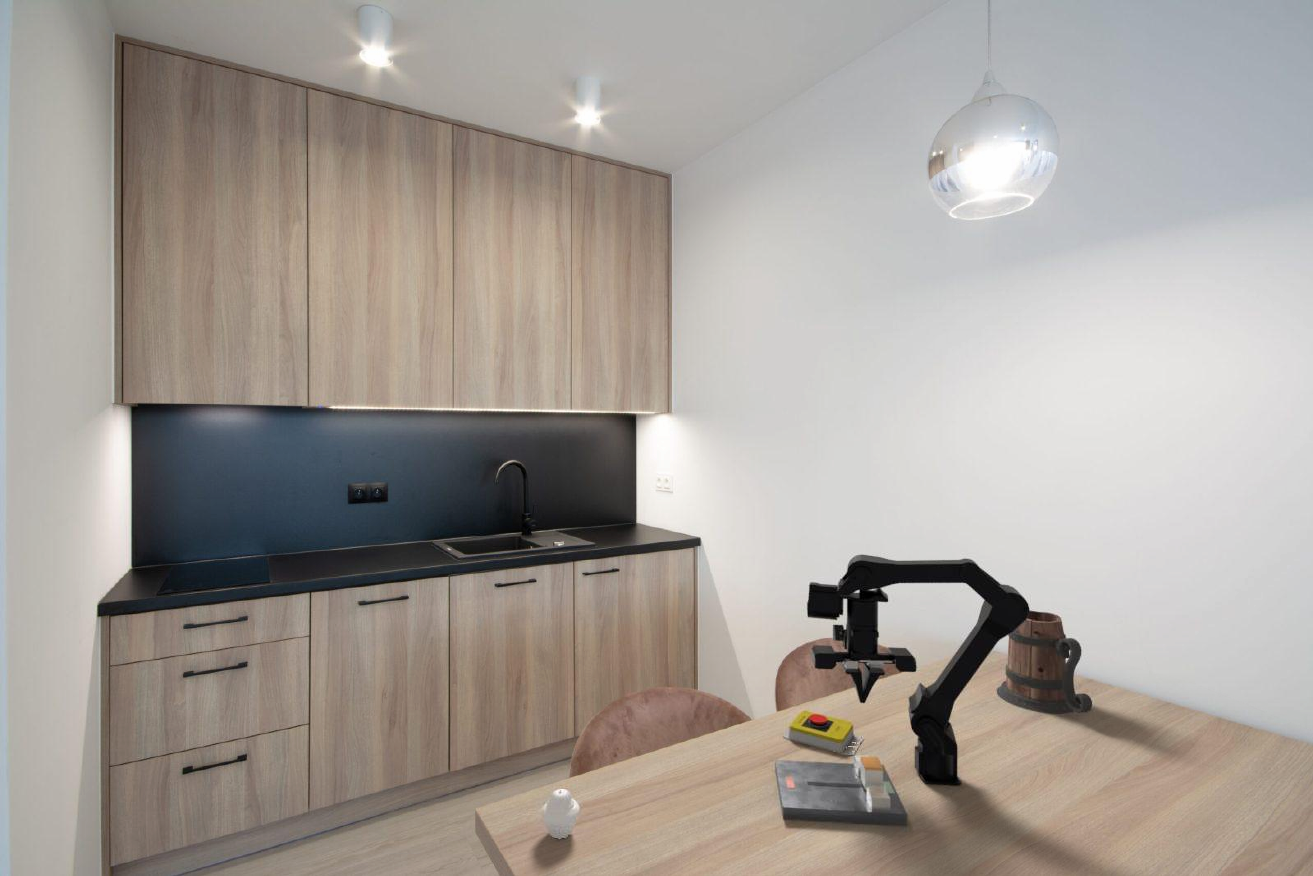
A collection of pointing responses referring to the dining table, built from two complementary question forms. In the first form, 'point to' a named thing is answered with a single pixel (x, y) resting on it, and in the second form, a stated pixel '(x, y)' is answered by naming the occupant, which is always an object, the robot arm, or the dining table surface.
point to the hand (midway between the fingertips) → (862, 702)
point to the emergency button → (823, 732)
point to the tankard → (1043, 667)
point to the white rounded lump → (560, 813)
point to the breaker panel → (836, 794)
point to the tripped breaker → (871, 771)
